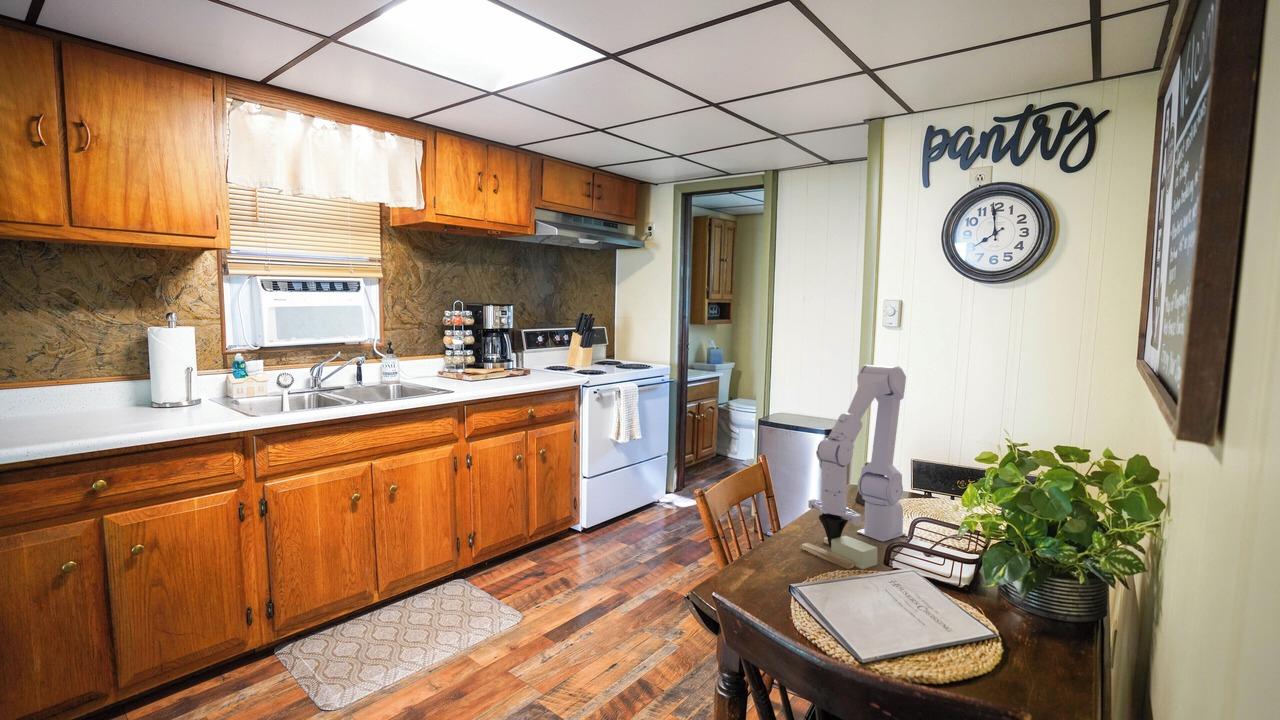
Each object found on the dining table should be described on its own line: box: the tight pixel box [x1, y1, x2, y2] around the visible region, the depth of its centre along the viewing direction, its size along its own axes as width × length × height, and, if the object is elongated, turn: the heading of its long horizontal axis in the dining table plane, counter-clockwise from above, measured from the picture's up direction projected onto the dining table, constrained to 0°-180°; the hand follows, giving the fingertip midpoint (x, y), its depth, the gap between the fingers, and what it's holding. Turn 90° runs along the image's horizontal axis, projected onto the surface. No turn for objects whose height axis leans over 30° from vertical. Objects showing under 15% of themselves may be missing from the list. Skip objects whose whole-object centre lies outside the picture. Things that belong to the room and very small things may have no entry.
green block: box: [830, 535, 878, 570], centre depth 139 cm, size 5×9×4 cm, turn 31°
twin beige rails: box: [801, 536, 855, 570], centre depth 143 cm, size 10×14×1 cm
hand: (833, 544), depth 144 cm, fingers closed
